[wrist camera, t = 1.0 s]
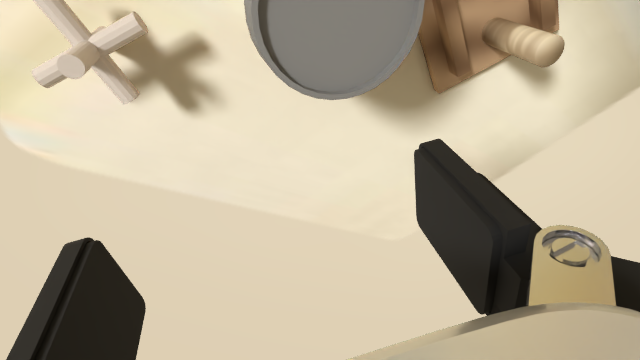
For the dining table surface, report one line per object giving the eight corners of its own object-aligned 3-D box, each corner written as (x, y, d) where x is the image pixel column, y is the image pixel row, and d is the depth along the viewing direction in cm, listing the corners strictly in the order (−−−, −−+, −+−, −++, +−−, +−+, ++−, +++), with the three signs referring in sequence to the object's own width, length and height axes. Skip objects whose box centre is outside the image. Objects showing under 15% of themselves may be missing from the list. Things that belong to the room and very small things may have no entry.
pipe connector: (182, 58, 38) (172, 91, 30) (100, 103, 39) (68, 148, 31) (110, -45, 32) (74, -37, 24) (15, 11, 33) (-51, 36, 25)
